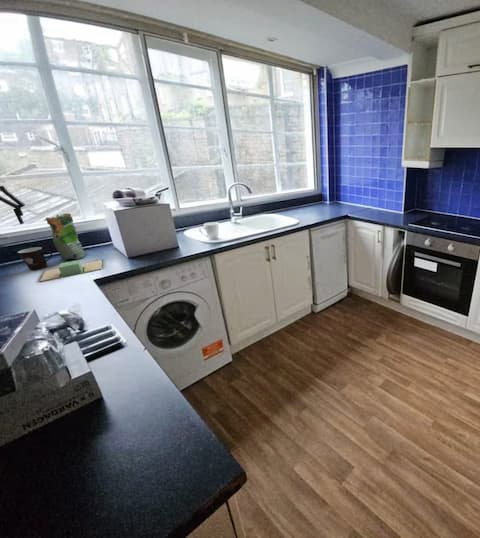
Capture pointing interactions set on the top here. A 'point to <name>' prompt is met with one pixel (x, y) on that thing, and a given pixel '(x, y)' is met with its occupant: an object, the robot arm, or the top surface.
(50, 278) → the beige flat board
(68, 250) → the pouch
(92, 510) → the top surface
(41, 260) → the coffee mug
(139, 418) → the top surface
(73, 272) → the green block
